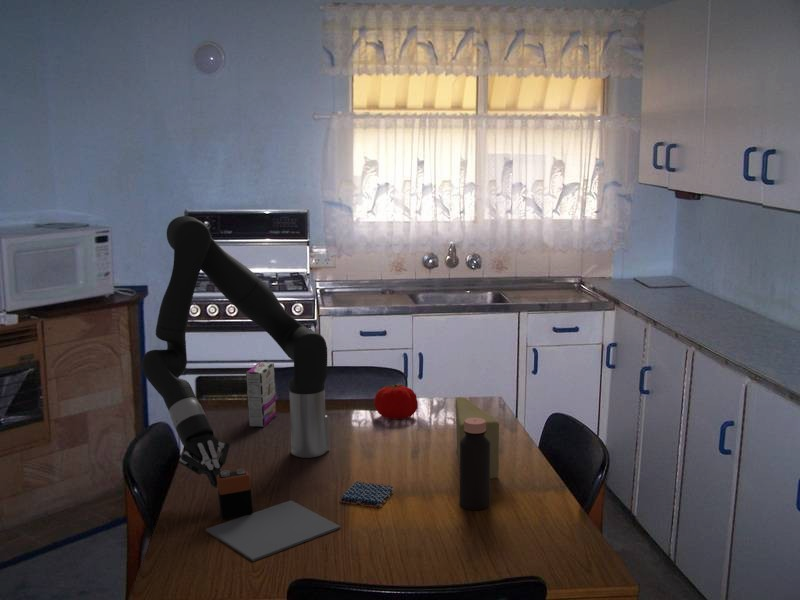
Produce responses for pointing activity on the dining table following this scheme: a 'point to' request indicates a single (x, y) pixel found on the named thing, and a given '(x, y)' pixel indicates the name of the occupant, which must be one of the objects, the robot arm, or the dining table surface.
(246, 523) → the rubber mat
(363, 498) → the woven mat
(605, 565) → the dining table surface
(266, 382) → the candy bar box
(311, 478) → the dining table surface
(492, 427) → the cheese
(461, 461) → the bottle
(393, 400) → the tomato
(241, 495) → the battery
